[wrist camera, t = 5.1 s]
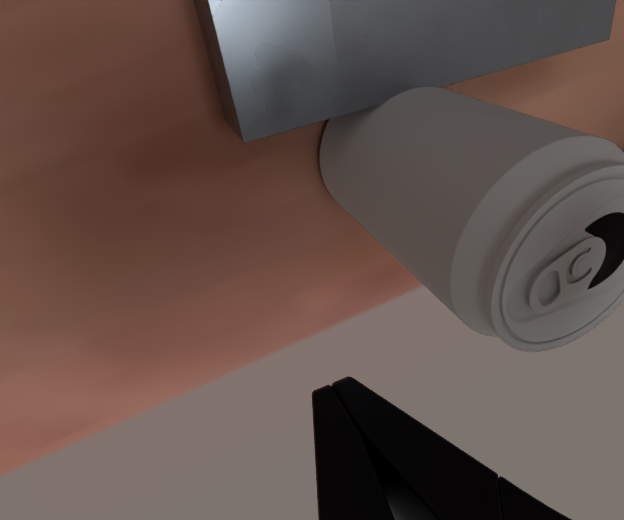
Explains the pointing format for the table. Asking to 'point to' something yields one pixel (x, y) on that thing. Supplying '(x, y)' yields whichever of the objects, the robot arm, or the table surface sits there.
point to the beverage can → (487, 210)
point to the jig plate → (373, 50)
